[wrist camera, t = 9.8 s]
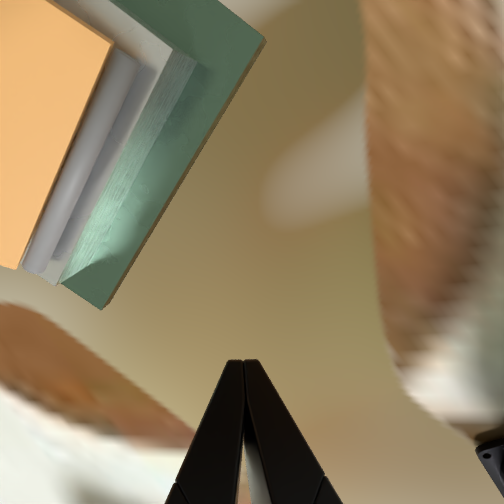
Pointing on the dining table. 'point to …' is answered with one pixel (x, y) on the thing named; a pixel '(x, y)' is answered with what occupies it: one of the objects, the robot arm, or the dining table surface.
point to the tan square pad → (50, 121)
